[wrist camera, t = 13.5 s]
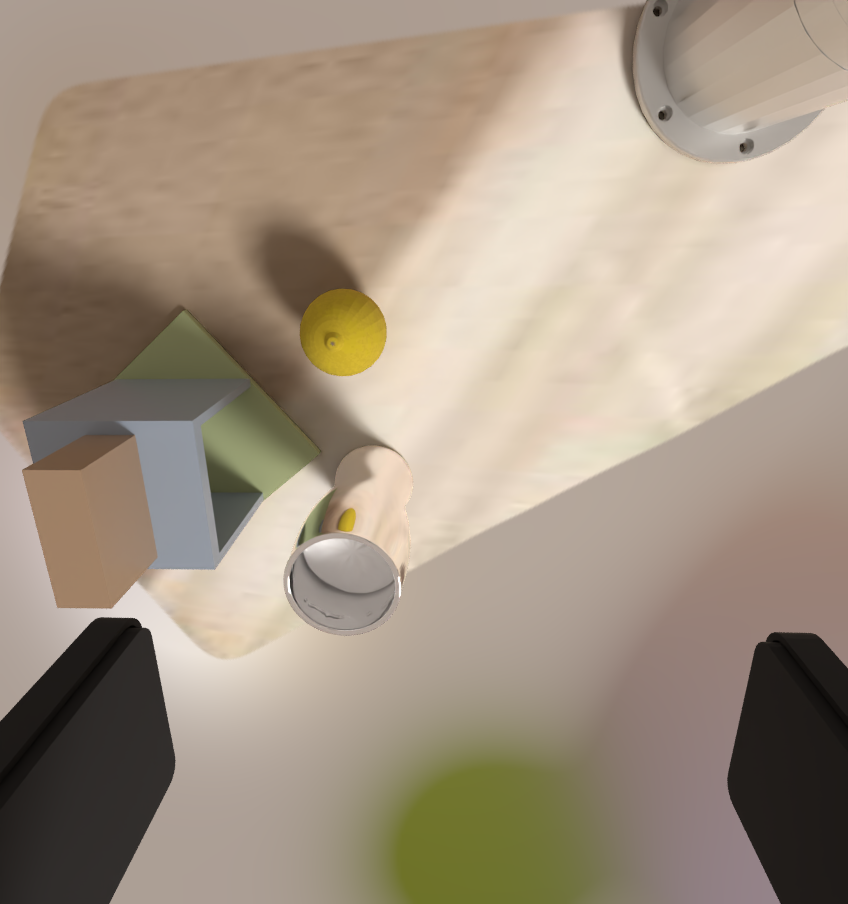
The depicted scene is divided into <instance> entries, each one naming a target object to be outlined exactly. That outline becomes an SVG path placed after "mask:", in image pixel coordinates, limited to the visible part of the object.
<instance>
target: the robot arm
mask: <svg viewBox="0 0 848 904" xmlns="http://www.w3.org/2000/svg"><path fill="white" fill-rule="evenodd" d="M653 9H658V10H659V12H660V14H659V16H658V17H656V16H655V15H654V13H653ZM632 72H633V78H634V85H635V92H636V95H637V98H638V101H639V104H640V107H641V110H642V112H643V114H644V116H645V118H646V119H647V121H648V123H649V124H650V126H651V128H652V129H653V130H654V132H655V133H656V134H657V135H658V136H659V137H660V138H661V139H662V140H663V141H664V142H665V143H666V144H667V145H669V146H670V147H671V148H673V149H674V150H676V151H677V152H679V153H680V154H682V155H685V156H687V157H690V158H692V159H695V160H697V161H703V162H709V163H715V164H721V163H737V162H742V161H747V160H751V159H754V158H757V157H760V156H763V155H765V154H768V153H771V152H773V151H775V150H777V149H778V148H780V147H782V146H784V145H785V144H787V143H789V142H791V141H792V140H793V139H794V138H796V137H797V136H798V135H799V134H801V133H802V132H803V131H804V130H806V129H807V128H808V127H809V126H810V125H811V124H812V123H813V122H814V121H815V119H816V118H817V117H818V116H819V115H820V114H821V113H822V112H823V111H824V110H825V108H827V107H830V106H833V105H836V104H839V103H842V102H845V101H848V0H647V1H646V3H645V6H644V8H643V11H642V14H641V17H640V20H639V22H638V25H637V30H636V36H635V41H634V46H633V70H632ZM660 111H662V112H663V113H664V115H665V116H664V119H663V120H660V119H659V117H658V113H659V112H660ZM740 144H743V145H744V150H743V151H742V152H740V149H739V147H740ZM174 770H175V754H174V749H173V743H172V738H171V733H170V728H169V723H168V717H167V712H166V708H165V702H164V697H163V692H162V686H161V682H160V677H159V671H158V665H157V660H156V655H155V650H154V645H153V640H152V635H151V632H150V631H149V629H147V628H142V626H141V624H140V622H139V621H138V620H137V619H135V618H104V617H101V618H97V619H95V620H94V621H93V622H91V623H90V624H89V626H88V627H87V628H86V629H85V630H84V631H83V632H82V633H81V634H80V635H79V636H78V638H77V639H76V640H75V641H74V642H73V643H72V644H71V645H70V646H69V647H68V649H66V651H65V652H64V653H63V654H62V655H61V656H60V657H59V658H58V659H57V660H56V662H55V663H54V664H53V665H52V666H51V667H50V668H49V669H48V670H47V671H46V673H45V674H44V675H43V676H42V677H41V678H40V679H39V680H38V681H37V682H36V683H35V684H34V685H33V687H32V688H31V689H30V690H29V691H28V692H27V693H26V694H25V695H24V696H23V697H22V698H21V700H20V701H19V702H18V703H17V704H16V705H15V706H14V707H13V708H12V709H11V710H10V712H9V713H8V714H7V715H6V716H5V717H4V718H3V719H2V720H1V721H0V904H109V903H110V901H111V899H112V897H113V895H114V893H115V891H116V889H117V887H118V885H119V883H120V881H121V880H122V878H123V876H124V874H125V872H126V870H127V868H128V866H129V864H130V862H131V860H132V858H133V856H134V854H135V852H136V850H137V848H138V846H139V844H140V842H141V840H142V838H143V836H144V834H145V832H146V831H147V828H148V827H149V824H150V823H151V821H152V819H153V817H154V815H155V813H156V811H157V809H158V807H159V805H160V803H161V801H162V799H163V797H164V795H165V793H166V791H167V789H168V787H169V785H170V783H171V781H172V778H173V774H174ZM727 779H728V780H727V781H728V790H729V795H730V799H731V801H732V804H733V806H734V808H735V810H736V812H737V814H738V816H739V818H740V820H741V822H742V825H743V827H744V829H745V831H746V832H747V835H748V837H749V839H750V841H751V843H752V845H753V847H754V849H755V851H756V854H757V855H758V858H759V860H760V862H761V864H762V866H763V868H764V870H765V872H766V874H767V876H768V878H769V881H770V883H771V884H772V887H773V889H774V891H775V893H776V895H777V897H778V899H779V901H780V903H781V904H848V668H847V667H846V666H845V665H844V664H843V663H842V661H841V660H839V658H838V657H837V656H836V655H835V653H834V652H833V651H832V650H831V649H830V648H829V647H828V646H827V645H826V644H825V642H824V641H823V640H822V639H821V638H820V637H818V636H817V635H816V634H812V633H782V632H781V633H780V632H779V633H778V632H774V633H771V634H770V635H769V636H768V637H767V640H766V642H760V643H758V645H757V646H756V648H755V651H754V656H753V661H752V666H751V670H750V675H749V680H748V684H747V689H746V693H745V698H744V702H743V707H742V712H741V716H740V721H739V726H738V730H737V735H736V739H735V744H734V749H733V753H732V758H731V762H730V767H729V772H728V778H727Z"/></svg>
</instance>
